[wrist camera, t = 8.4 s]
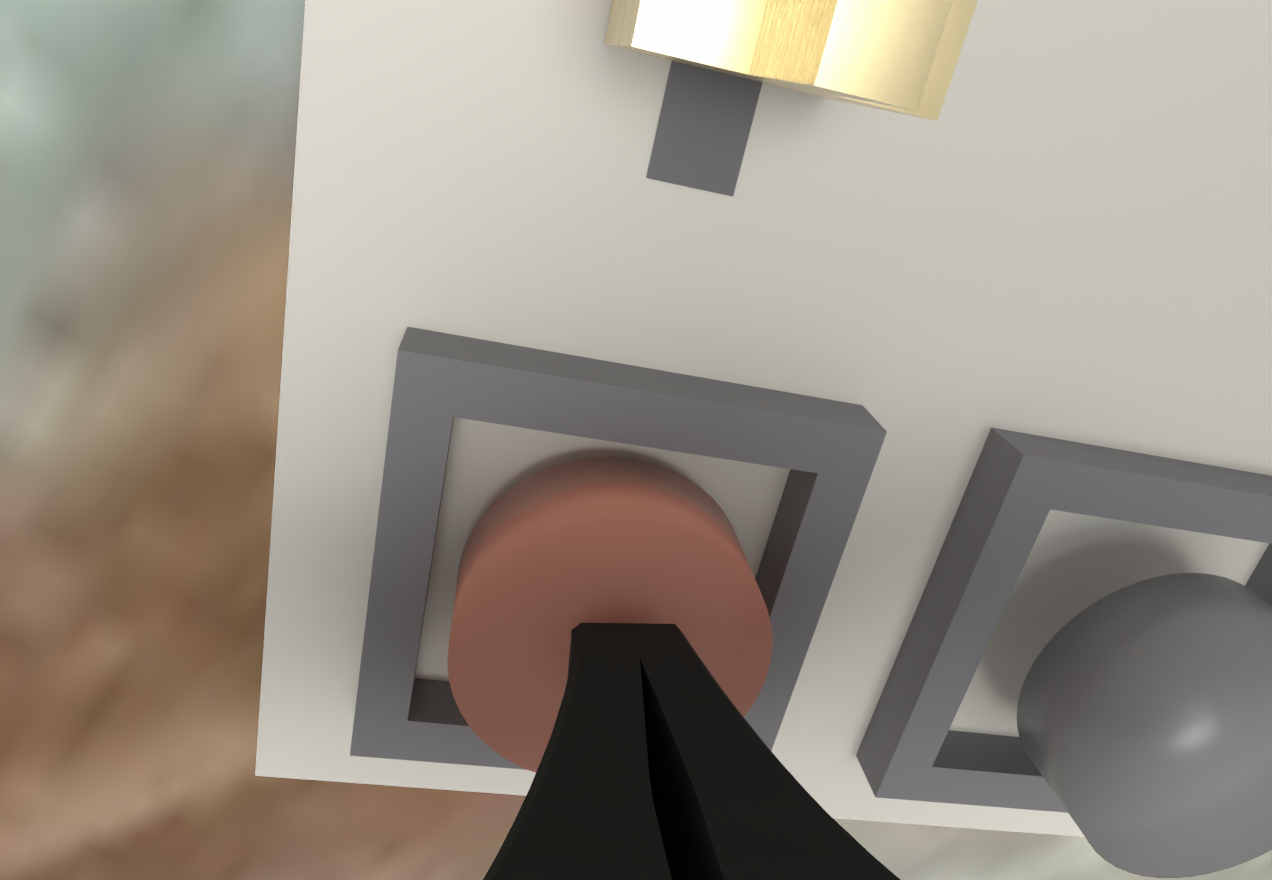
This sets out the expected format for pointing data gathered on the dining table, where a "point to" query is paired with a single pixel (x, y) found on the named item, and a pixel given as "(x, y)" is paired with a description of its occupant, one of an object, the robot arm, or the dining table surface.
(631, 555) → the red button
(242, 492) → the dining table surface
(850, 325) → the control board
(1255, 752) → the grey button
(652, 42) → the brass slider
